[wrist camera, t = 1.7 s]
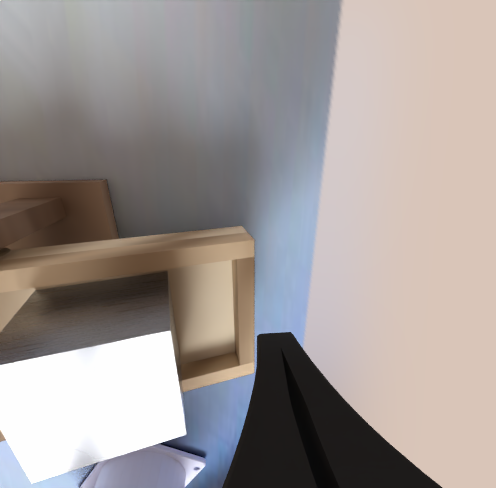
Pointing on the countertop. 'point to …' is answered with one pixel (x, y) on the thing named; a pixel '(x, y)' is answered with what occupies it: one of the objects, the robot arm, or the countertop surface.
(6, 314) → the beam
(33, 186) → the stand
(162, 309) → the block
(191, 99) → the countertop surface
